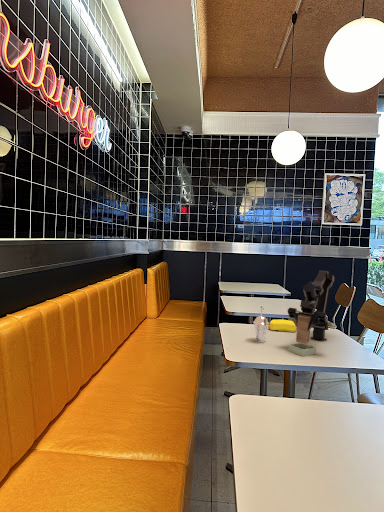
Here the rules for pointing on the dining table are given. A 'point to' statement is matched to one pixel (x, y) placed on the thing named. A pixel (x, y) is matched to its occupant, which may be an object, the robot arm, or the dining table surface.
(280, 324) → the yellow rounded block
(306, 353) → the green holder
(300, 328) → the walnut block
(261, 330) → the cup with straw
